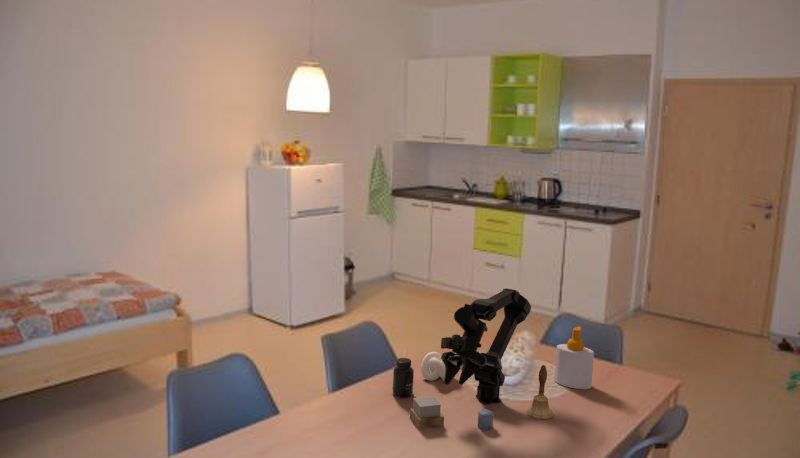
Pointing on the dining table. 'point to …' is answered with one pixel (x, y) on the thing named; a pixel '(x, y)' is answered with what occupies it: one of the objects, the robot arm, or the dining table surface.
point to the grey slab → (426, 406)
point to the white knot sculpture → (433, 367)
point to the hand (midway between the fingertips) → (452, 384)
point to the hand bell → (540, 399)
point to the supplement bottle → (403, 378)
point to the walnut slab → (426, 420)
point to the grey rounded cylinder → (485, 419)
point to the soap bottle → (574, 363)
